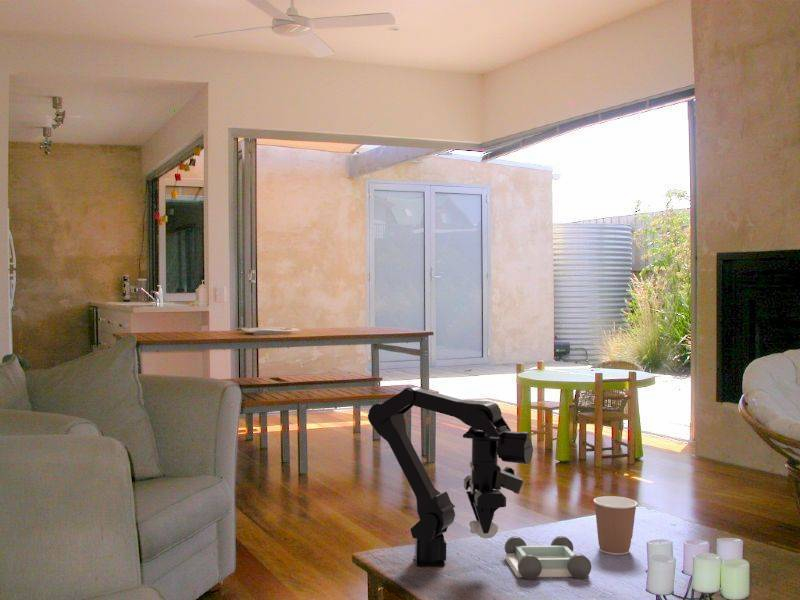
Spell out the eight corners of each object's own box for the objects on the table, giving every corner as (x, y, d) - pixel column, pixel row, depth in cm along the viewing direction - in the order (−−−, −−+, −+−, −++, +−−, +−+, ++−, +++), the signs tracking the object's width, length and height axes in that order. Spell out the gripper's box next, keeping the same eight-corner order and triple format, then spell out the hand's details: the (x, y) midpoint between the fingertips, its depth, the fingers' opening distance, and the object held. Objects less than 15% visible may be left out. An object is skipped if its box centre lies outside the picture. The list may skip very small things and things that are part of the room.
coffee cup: (645, 554, 203) (646, 504, 203) (609, 559, 200) (610, 508, 199) (619, 542, 213) (620, 494, 213) (584, 546, 209) (585, 497, 209)
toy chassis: (518, 579, 184) (519, 556, 184) (504, 557, 199) (504, 536, 199) (591, 578, 186) (591, 555, 186) (571, 556, 201) (571, 535, 201)
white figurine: (501, 540, 187) (502, 504, 187) (473, 542, 186) (474, 505, 185) (492, 533, 193) (493, 498, 192) (465, 535, 191) (465, 499, 191)
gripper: (530, 468, 180) (529, 541, 181) (511, 451, 199) (509, 517, 199) (478, 468, 179) (477, 542, 180) (463, 451, 198) (462, 518, 198)
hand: (483, 529), depth 189 cm, fingers closed on white figurine, 5 cm apart
